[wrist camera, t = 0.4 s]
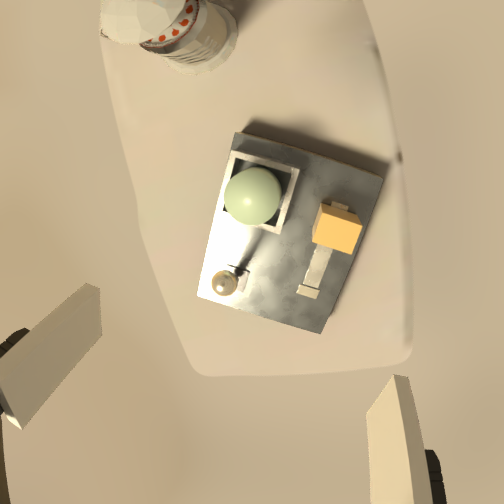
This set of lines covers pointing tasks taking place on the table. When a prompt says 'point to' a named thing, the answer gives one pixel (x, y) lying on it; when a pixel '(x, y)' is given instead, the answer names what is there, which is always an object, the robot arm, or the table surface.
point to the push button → (252, 196)
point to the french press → (173, 31)
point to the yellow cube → (336, 228)
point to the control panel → (287, 234)
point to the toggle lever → (224, 283)
